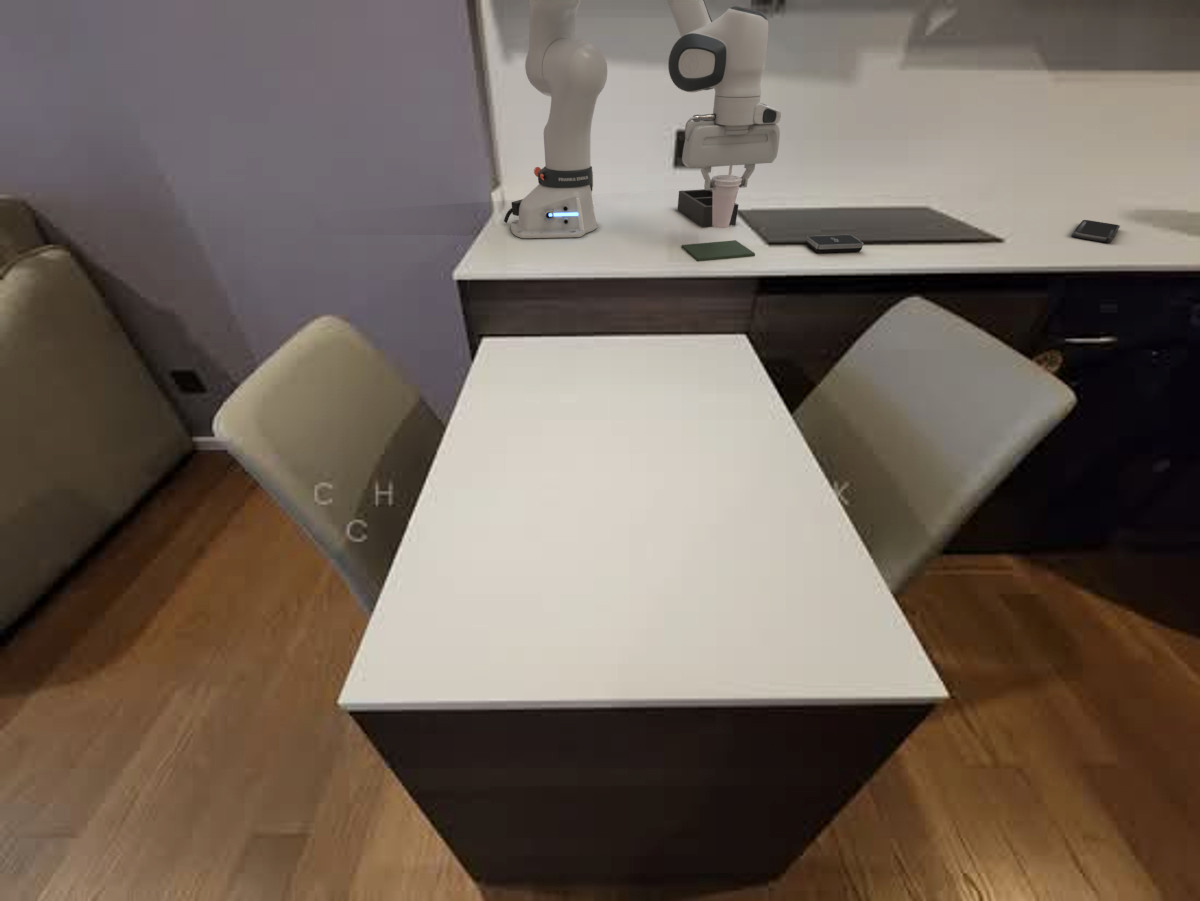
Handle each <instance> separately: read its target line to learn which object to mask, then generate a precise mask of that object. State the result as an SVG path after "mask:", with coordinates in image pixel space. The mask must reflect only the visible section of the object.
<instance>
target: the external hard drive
mask: <svg viewBox="0 0 1200 901" xmlns="http://www.w3.org/2000/svg"><path fill="white" fill-rule="evenodd" d="M805 245H807V246H808V247H810V249H812V250H813V251H814V252H815V253H818V254H823V253H847V252H848V253H849V252H850V253H851V252H860V251H862V249H863V246H864V242H863V241H861V240H860V239H858V237H855V236H853V235H852V234H829V235H828V234H825V235H807V236H806V240H805Z"/></svg>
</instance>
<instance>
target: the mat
mask: <svg viewBox="0 0 1200 901" xmlns="http://www.w3.org/2000/svg"><path fill="white" fill-rule="evenodd" d="M680 246H681V249H682V250H684V251H685V252H686V253H687V254H688V255H690V256H691V257H692V258H693V259H694V260H695V261H696V262H705V261H706V262H707V261H716V260H727V259H736V258H737V259H738V258H748V257H755V256H756V253H755V252H754V251H752V250H751V249H749V248H748V247H746V246H745V245H744V244H742V243H741V242H740V241H738V240H736V239H735V240H721V241H712V242H711V241H709V242H700V243H689V244H687V243H686V244H681V245H680Z"/></svg>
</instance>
